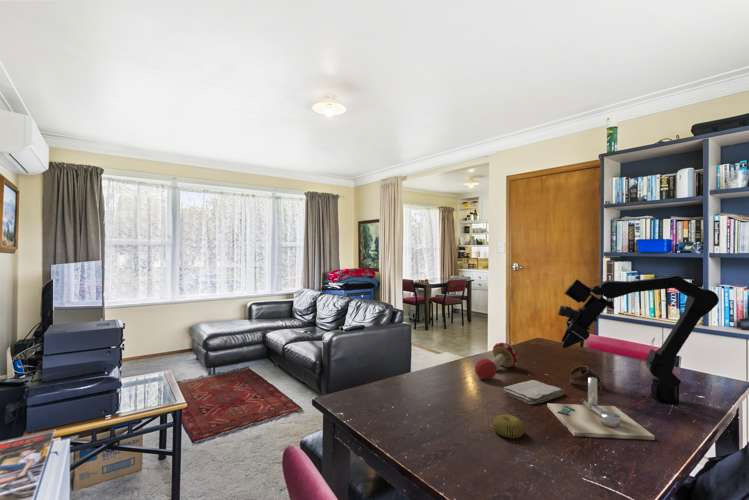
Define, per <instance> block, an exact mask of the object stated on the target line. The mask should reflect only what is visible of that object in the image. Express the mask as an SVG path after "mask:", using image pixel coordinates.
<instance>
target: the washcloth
mask: <svg viewBox="0 0 749 500" xmlns="http://www.w3.org/2000/svg"><path fill="white" fill-rule="evenodd" d="M502 389H503V392H502V393H503V394H504V395H506V396H508V397H511V398H513V399H515V400H518V401H520V402H522V403H525V404H526V405H535V404H540V403H544V402H547V401H549V400H552V399H555V398H559V397H562V396H563V395H564V394H565V390H564V389H562V388H561V387H558V386H554V385H549V384H546V383H544V382H541V381H538V380H536V379H531V380H527V381H521V382H518V383H514V384H511V385H507V386H504V387H503V388H502Z"/></svg>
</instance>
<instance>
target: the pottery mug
mask: <svg viewBox="0 0 749 500" xmlns="http://www.w3.org/2000/svg"><path fill="white" fill-rule="evenodd" d="M577 372H580V373H581V374H580V375H574V374H575V373H577ZM568 376H569V382H570V384H571V385H573V384H576V385H577V384H585V385H588V377H594V378H597V387H599V390H600V391H602V390H603V386H602V382H601V380H600V377H599V375H598V374H597V373H596V371H594V370H592V369H591V368H590V367H589V366H588V365H579V366H576V367H574V368H572V369H571V370H570V372H569V374H568Z"/></svg>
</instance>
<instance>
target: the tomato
mask: <svg viewBox="0 0 749 500" xmlns="http://www.w3.org/2000/svg"><path fill="white" fill-rule="evenodd" d="M491 360H492V359H488V358H481V359H478V361H477V362H476V363H475V366H474V369H475V370H474V371H475V374H476V375H477V377H478V378H479V379H480V380H484V381H489V380H491V379H493V378H494V377H495V376H496V373H497V371H498V370H496V366H495V364H494V363H493V361H491Z"/></svg>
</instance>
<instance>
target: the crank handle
mask: <svg viewBox="0 0 749 500" xmlns="http://www.w3.org/2000/svg"><path fill="white" fill-rule="evenodd" d="M583 405H587V406H588V407H589V408H591V409H592V410H594V411H595V412H596V413H598V414H599V415H601V423H602V424H604V425H606V426H609V427H614V428H617V427H620V416H619V415H617V414H615V413H612V412H607V411H604V410H603V409H601V408H600V407H598V406H599V405H598V385H597V378H594V377H588V381H587V398H584V399H583Z"/></svg>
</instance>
